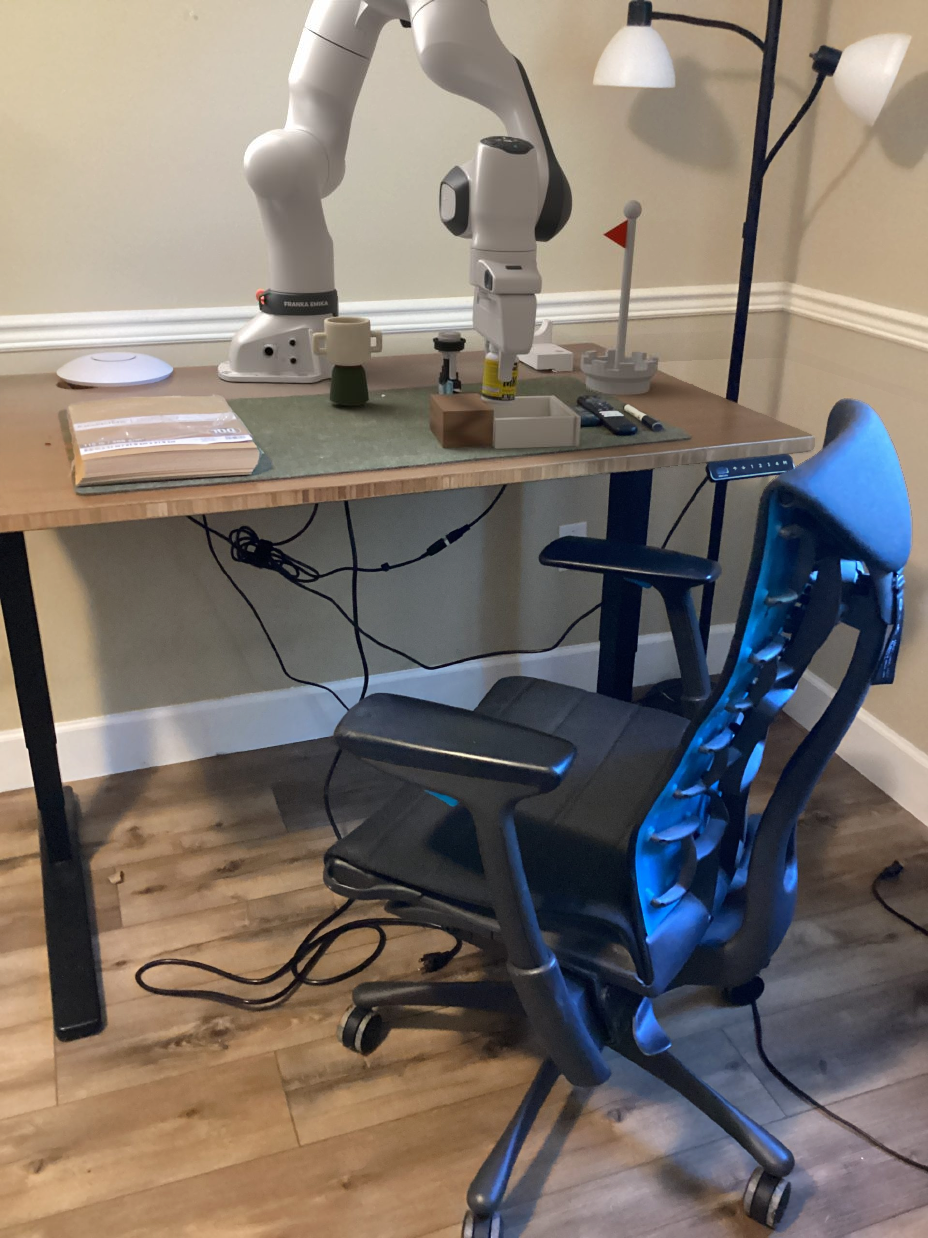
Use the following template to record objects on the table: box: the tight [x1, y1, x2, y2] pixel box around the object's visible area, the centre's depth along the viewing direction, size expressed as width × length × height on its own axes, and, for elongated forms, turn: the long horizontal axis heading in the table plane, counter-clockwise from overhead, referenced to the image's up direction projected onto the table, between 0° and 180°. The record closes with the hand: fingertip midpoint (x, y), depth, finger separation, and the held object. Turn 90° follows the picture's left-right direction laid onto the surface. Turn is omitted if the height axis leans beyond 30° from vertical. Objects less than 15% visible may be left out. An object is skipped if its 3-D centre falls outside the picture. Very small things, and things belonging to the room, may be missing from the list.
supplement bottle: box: [480, 343, 520, 405], centre depth 141 cm, size 5×5×8 cm
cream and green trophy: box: [312, 315, 383, 406], centre depth 157 cm, size 11×7×13 cm, turn 109°
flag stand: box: [580, 199, 659, 396], centre depth 169 cm, size 13×13×30 cm
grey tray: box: [488, 395, 582, 450], centre depth 145 cm, size 12×13×4 cm
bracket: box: [517, 318, 574, 372], centre depth 190 cm, size 13×7×8 cm, turn 18°
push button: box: [432, 330, 467, 394], centre depth 164 cm, size 7×5×10 cm
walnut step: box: [429, 392, 494, 449], centre depth 143 cm, size 7×10×5 cm
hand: (498, 375), depth 141 cm, fingers open, 5 cm apart
